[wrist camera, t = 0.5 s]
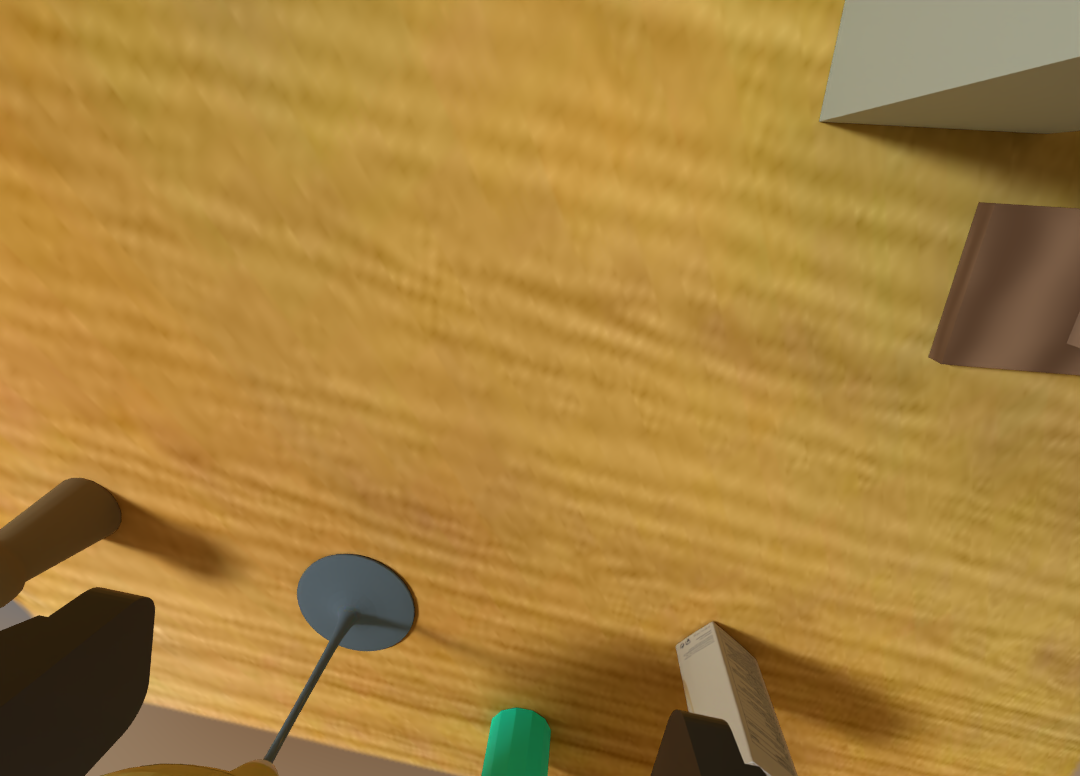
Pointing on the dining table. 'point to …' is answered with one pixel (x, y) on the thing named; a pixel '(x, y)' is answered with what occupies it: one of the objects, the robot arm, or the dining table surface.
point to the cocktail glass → (327, 637)
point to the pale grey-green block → (957, 65)
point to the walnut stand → (1015, 292)
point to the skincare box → (733, 696)
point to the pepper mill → (54, 532)
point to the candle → (517, 744)
